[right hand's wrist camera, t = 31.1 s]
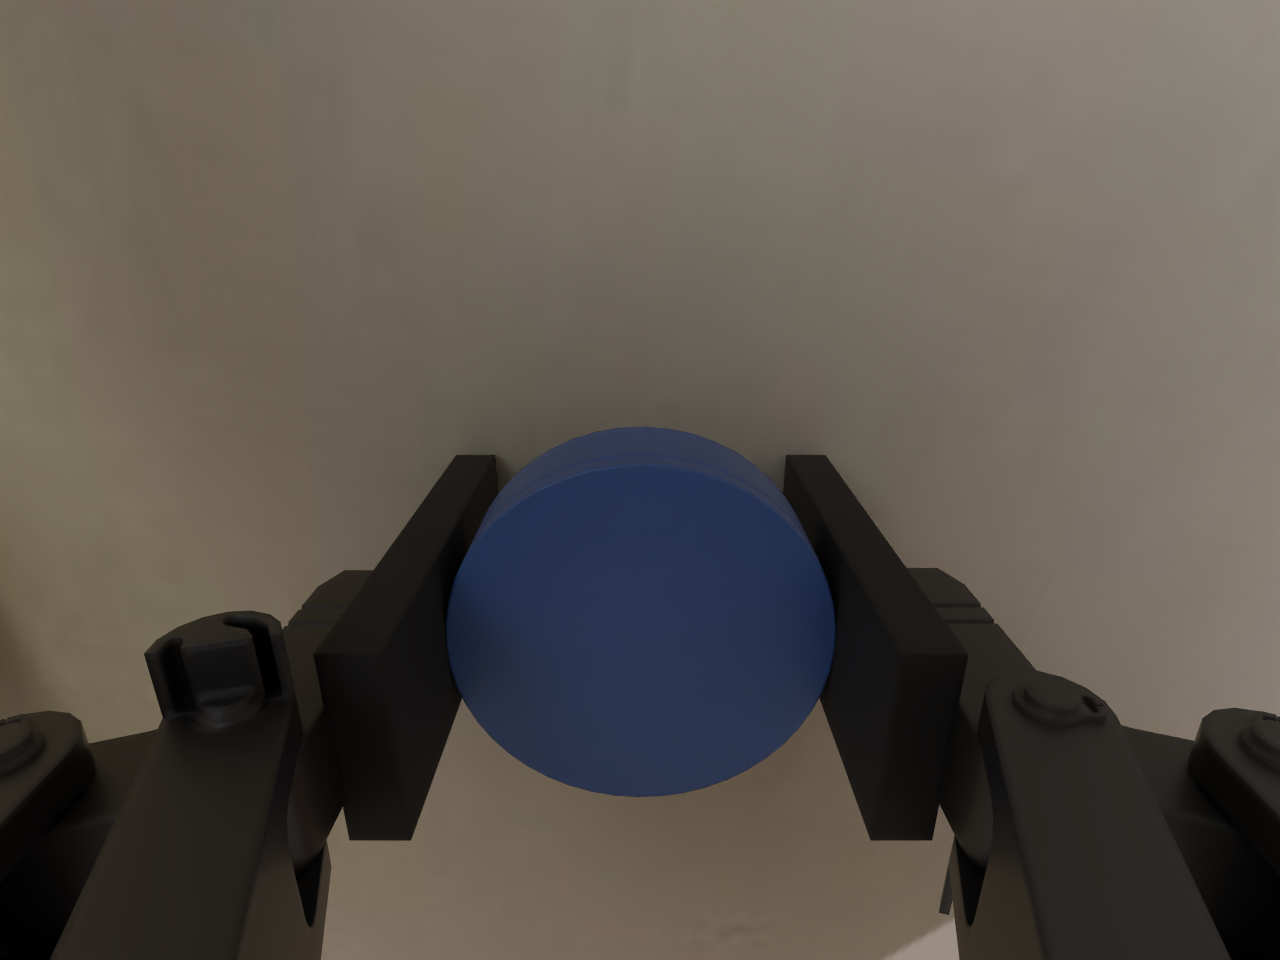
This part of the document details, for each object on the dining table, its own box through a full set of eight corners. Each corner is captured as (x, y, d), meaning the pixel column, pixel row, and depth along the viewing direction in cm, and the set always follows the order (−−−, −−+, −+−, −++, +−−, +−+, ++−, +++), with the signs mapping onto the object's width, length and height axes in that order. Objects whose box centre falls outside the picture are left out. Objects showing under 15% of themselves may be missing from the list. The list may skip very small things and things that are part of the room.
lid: (849, 668, 13) (880, 735, 11) (554, 761, 13) (543, 838, 12) (748, 371, 11) (767, 401, 9) (410, 499, 11) (372, 548, 10)
